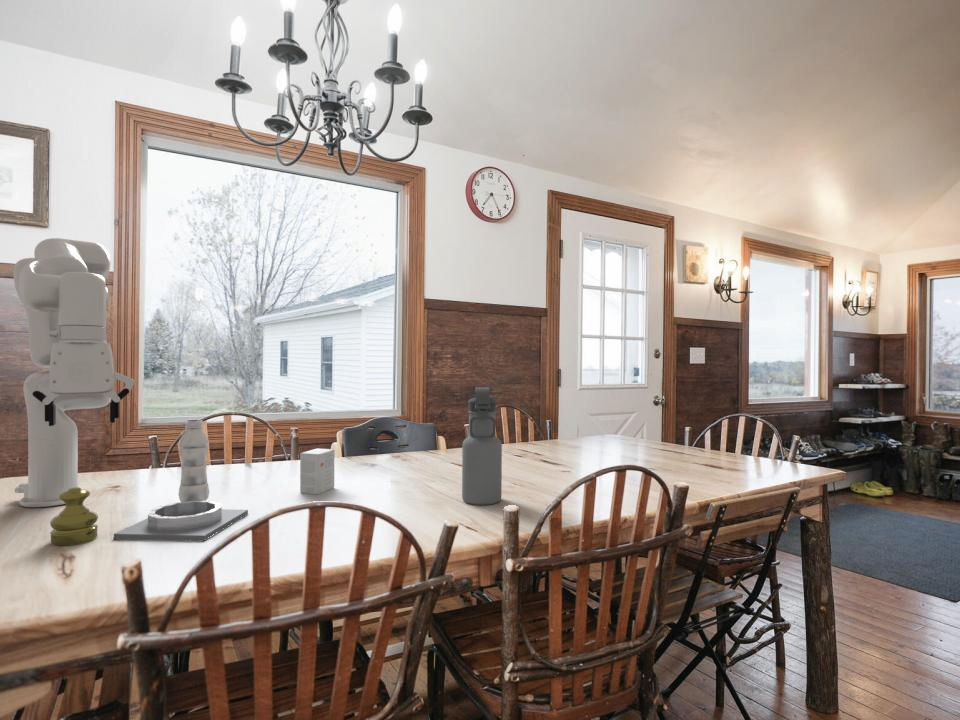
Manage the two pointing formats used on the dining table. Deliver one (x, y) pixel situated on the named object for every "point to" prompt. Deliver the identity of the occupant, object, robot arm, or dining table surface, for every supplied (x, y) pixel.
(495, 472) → the water bottle
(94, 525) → the olive turned piece
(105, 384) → the robot arm
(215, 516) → the steel ring
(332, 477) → the small box
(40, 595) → the dining table surface
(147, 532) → the seat board
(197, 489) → the plastic bottle
